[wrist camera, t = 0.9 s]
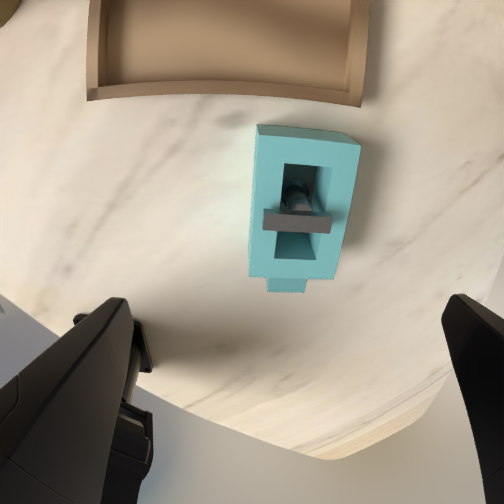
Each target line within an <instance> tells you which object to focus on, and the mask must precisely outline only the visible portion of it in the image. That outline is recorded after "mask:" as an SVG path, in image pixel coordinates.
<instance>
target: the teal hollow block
mask: <svg viewBox="0 0 504 504" xmlns="http://www.w3.org/2000/svg"><path fill="white" fill-rule="evenodd" d="M360 150H361V145H360V144H358V143H357V142H355V141H354V140H352V139H351V138H350V137H348V136H347V135H345V134H344V133H339V132H331V131H323V130H315V129H305V128H295V127H284V126H271V125H257V126H256V141H255V156H254V171H253V186H252V201H251V217H250V232H249V277H266V281H267V292H301V293H304V291H305V286H306V281H307V279H334V276H335V272H336V268H337V264H338V259H339V255H340V251H341V247H342V242H343V238H344V233H345V229H346V224H347V219H348V215H349V210H350V205H351V200H352V195H353V190H354V184H355V179H356V173H357V168H358V162H359V156H360ZM284 163H288V164H301V165H312V166H317V169H316V177H315V184H314V191H313V197H312V204H311V208H312V210H313V211H316V212H330V213H331V214H332V216H333V222H332V227H331V232H330V234H324V233H299V232H279V231H266V230H263V229H262V219H263V208H266V209H280V200H281V191H282V181H283V171H284Z"/></svg>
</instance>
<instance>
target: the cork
mask: <svg viewBox="0 0 504 504" xmlns="http://www.w3.org/2000/svg"><path fill="white" fill-rule="evenodd" d="M20 2H21V0H0V27H2V26H3V25H4V24H5V23H6V22H7V21H8V20H9V19H10V18H11V16H12V15H13V13H14V12H15V10H16V9H17V7H18V6H19V4H20Z"/></svg>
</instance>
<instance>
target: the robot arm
mask: <svg viewBox="0 0 504 504" xmlns="http://www.w3.org/2000/svg"><path fill="white" fill-rule="evenodd" d="M73 322H74V325H75V326H74V327H73V328H72V329H70V330H69V331H68V332H67V333H66V334H64V335H63V336H62V337H61V338H59V339H58V340H57V341H56V342H55V343H53V344H52V345H51V346H50V347H49V348H47V349H46V350H45V351H44V352H43V353H41V354H40V355H39V356H38V357H37V358H36V359H34V360H33V361H32V362H31V363H30V364H29V365H27V366H26V367H25V368H24V369H23V370H22V371H20V372H19V374H18V375H16V376H15V377H13V378H12V379H11V380H10V381H9V382H8V383H7V384H5V385H4V386H3V387H2V388H1V389H0V504H137V498H138V493H139V489H140V485H141V482H142V480H143V479H144V478H145V477H146V475H147V473H148V472H149V469H150V467H151V463H152V460H153V422H152V413H151V412H148V411H143V410H142V409H139V408H137V407H135V406H133V405H131V400H132V396H133V393H134V389H135V385H136V381H137V377H138V373H139V372H144V373H151V372H152V369H153V366H152V363H151V359H150V355H149V351H148V347H147V343H146V339H145V335H144V331H143V327H142V325H141V324H140V323H139V322H135V321H133V319H132V315H131V312H130V308H129V305H128V302H127V300H126V299H125V298H119V297H111V298H109V299H108V300H107V301H105V302H104V303H103V304H102V305H100V306H99V307H98V308H97V309H95V310H94V311H93V312H92V313H90V314H89V315H88V316H82V315H76V316H75V317H74V319H73ZM441 323H442V326H443V330H444V334H445V337H446V341H447V345H448V349H449V353H450V357H451V361H452V364H453V368H454V371H455V374H456V377H457V380H458V383H459V386H460V390H461V393H462V396H463V399H464V403H465V406H466V410H467V413H468V417H469V421H470V424H471V429H472V432H473V437H474V441H475V445H476V449H477V454H478V459H479V464H480V469H481V474H482V479H483V487H484V494H485V501H486V504H504V319H503V318H501V317H500V316H498V315H496V314H495V313H493V312H492V311H490V310H489V309H487V308H486V307H484V306H483V305H481V304H480V303H478V302H476V301H475V300H473V299H472V298H470V297H468V296H467V295H465V294H454V295H452V296H451V297H450V299H449V301H448V303H447V305H446V308H445V310H444V312H443V314H442V318H441ZM136 327H137V328H136Z"/></svg>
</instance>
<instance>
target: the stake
mask: <svg viewBox="0 0 504 504" xmlns="http://www.w3.org/2000/svg"><path fill="white" fill-rule="evenodd" d="M308 196H309V190H308V187H307V185H306V184H305V183H304V182H303V181H301V180H299V179H289V180H287V181H285V182H284V183H283V184H282V191H281V202H282V203H283V204H284V205H286V206H287V207H288V210H284V209H266V208H263V219H262V229H263V230H266V231H287V232H306V233H324V234H330V232H331V227H332V222H333V216H332V214H331V213H330V212H316V211H313V210H312V208H311V206H310V204H309V201H308Z"/></svg>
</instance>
